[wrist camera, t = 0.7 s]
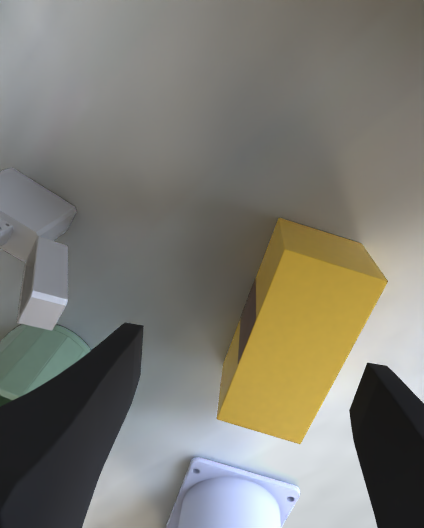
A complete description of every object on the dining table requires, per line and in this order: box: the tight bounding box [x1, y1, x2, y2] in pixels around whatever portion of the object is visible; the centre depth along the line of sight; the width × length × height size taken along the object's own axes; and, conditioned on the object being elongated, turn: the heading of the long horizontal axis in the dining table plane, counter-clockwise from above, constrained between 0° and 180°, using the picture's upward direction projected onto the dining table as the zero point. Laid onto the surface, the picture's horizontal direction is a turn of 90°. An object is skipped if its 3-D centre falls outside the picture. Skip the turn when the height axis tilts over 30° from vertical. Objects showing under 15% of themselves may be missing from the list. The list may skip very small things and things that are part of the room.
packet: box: [217, 218, 388, 444], centre depth 21 cm, size 10×5×5 cm, turn 164°
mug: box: [0, 324, 91, 406], centre depth 24 cm, size 9×6×6 cm
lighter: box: [0, 168, 77, 330], centre depth 18 cm, size 7×2×8 cm, turn 57°
